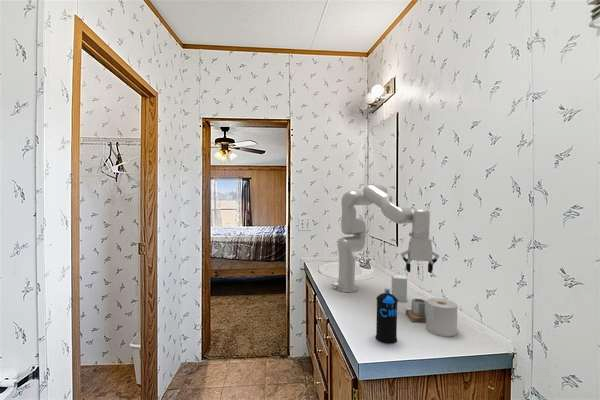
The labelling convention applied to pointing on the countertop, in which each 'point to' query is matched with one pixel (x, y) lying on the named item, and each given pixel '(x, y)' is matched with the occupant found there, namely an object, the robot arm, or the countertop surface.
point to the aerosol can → (386, 317)
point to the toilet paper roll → (441, 317)
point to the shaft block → (414, 317)
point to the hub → (418, 307)
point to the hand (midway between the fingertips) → (419, 272)
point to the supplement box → (399, 287)
